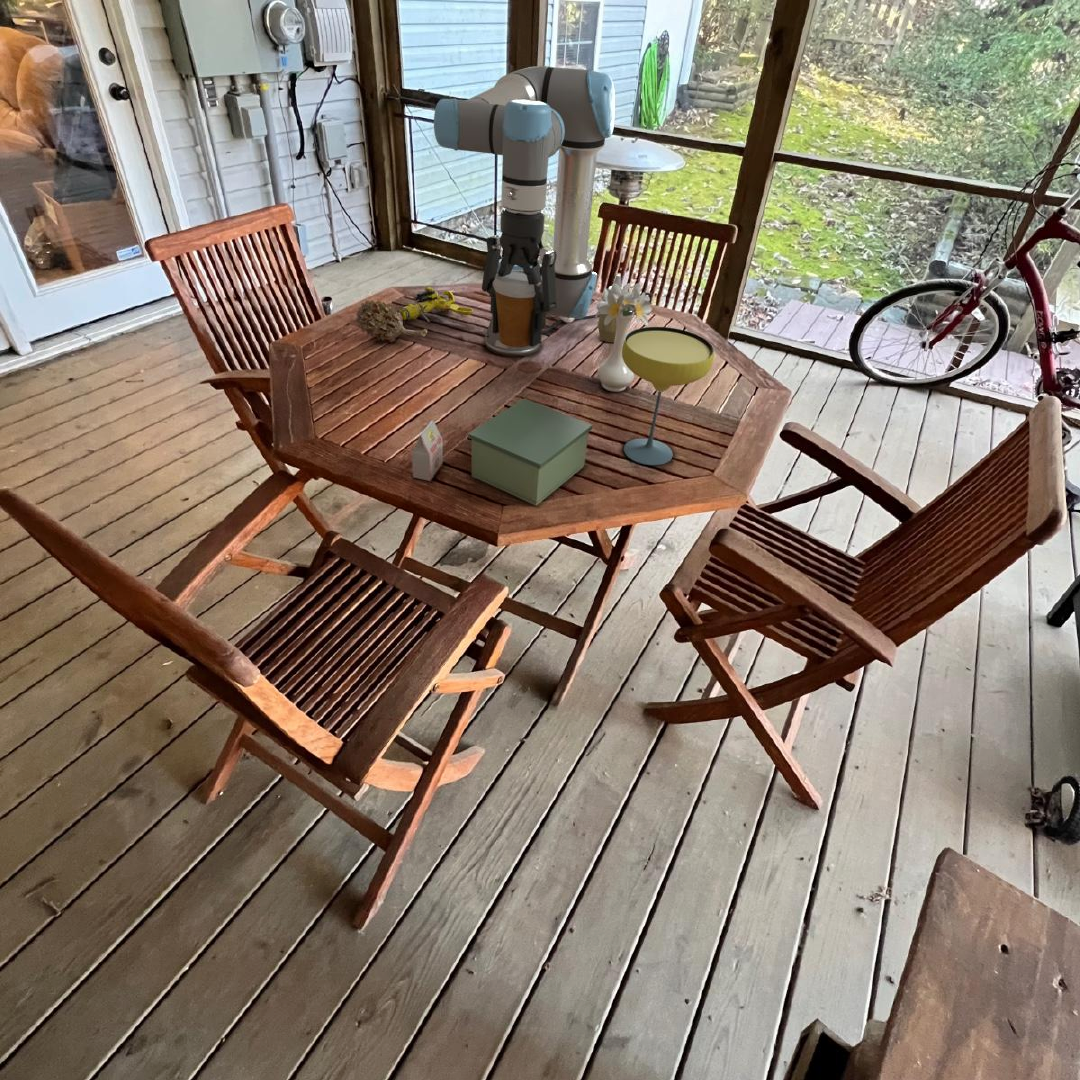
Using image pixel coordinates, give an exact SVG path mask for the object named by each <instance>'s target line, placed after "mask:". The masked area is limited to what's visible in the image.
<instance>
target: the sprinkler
mask: <svg viewBox="0 0 1080 1080" xmlns="http://www.w3.org/2000/svg"><path fill="white" fill-rule="evenodd" d="M438 293H439V292H438V291H437V290H435V289H434V287H431V286H427V287H425V288H424V291H421V292H419V293H417V294H416V297H415V299H414V300H412V301H409V302H408V301H407V300H406V298H405V296H404V295H402V298H403V300H404V301H405V303H406V305H407V306H404V307H402V309H400V310H399V313H400V314H401V315H402V316H403V320H402V321H411V320H413V321H415V320H417V319H418V317H420V316H423V318H424V319H425V320H426V321H427V322H428V323H430V322H431V321H430V319H428V318H427V317H426V315H425V314H427V313H428V314H429V312H432V310H438V311H442V312H450V311H452V312H454V313H455V314H457V315H461V316H466V317H467V316H470V315H472V314H473V311H474V309H473V308H470V307H464V306H460V305H457V304H455V301H456V300H455V296H454V294H453V292H451V291H448V290H444V291H443V293H442V295H440V296H439V294H438Z"/></svg>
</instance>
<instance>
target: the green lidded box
mask: <svg viewBox="0 0 1080 1080" xmlns="http://www.w3.org/2000/svg"><path fill="white" fill-rule="evenodd" d="M593 426H594V425H593V424H592V423H589V422H586V421H583V420H581V419H579V418H576V417H574V416H571V415H568V414H567V413H563V412H560V411H558V410H556V409H552V408H551V407H548V406H545V405H542V404H541V403H537V402H535V401H533V400H530V399H527V398H522V399H521V400H519V401H518V402H516V403H515V404H513V405H511V406H510V407H508V408H507V409H505V410H504V411H501V412H499V414H496V415H495V416H494V417H492V418H490V419H489V420H487V421H486V422H484V423H483V424H481V425H479V426H478V427H476V428H475V429H473V430H472V431H469V432H468V433H467V438H468V439H470V440H471V477H472V478H475V479H477V480H479V481H482V482H484V483H486V484H488V485H490V486H492V487H494V488H497V489H498V490H501V491H503V492H505V493H508V494H510V495H512V496H514V497H516V498H518V499H520V500H523V501H525V502H527V503H529V504H531V505H534V506H536V507H537V506H538V505H539V504H540V503H542V502H543V501H544V500H545V499H546V498H548V497H549V496H550V495H551V494H552V493H554V492H555V491H556V490H557V489H558V488H560V487H562V486H563V484H565V483H566V482H567V481H569V479H570V478H572V477H573V476H575V474H577V473H578V472H579V471H581V469H583V468H584V467H585V463H586V454H587V447H588V440H589V439H588V438H589V432H591V431H592V430H593V428H594V427H593Z"/></svg>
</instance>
